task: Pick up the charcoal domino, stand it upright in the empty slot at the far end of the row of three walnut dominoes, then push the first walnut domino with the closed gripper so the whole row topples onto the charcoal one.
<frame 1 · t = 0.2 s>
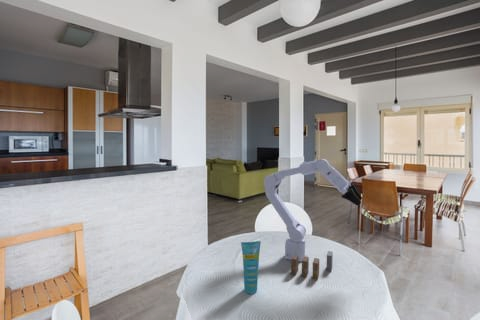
hand: (360, 201, 112), 31 cm above the table, tool tilted 45°, fingers open, 7 cm apart
domino 2: (305, 274, 109), on the table
domino 1: (294, 272, 111), on the table
tube: (251, 291, 97), on the table
domino 3: (315, 276, 107), on the table
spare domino: (329, 268, 114), on the table
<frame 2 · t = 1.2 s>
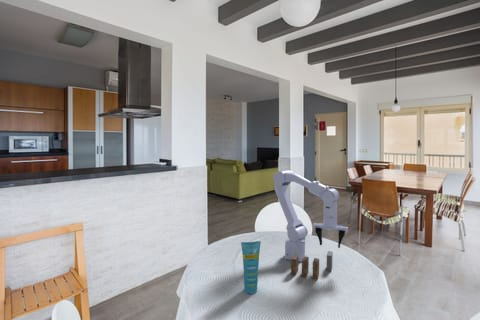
hand: (329, 245, 114), 10 cm above the table, tool pointing down, fingers open, 7 cm apart
nothing on the table moved.
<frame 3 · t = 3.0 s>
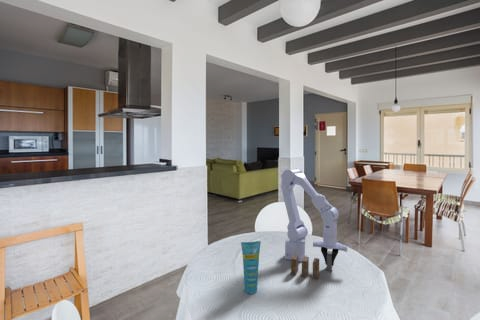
hand: (329, 264, 114), 2 cm above the table, tool pointing down, fingers closed on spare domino, 2 cm apart
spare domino: (329, 268, 114), on the table, touching gripper
everything else where it was.
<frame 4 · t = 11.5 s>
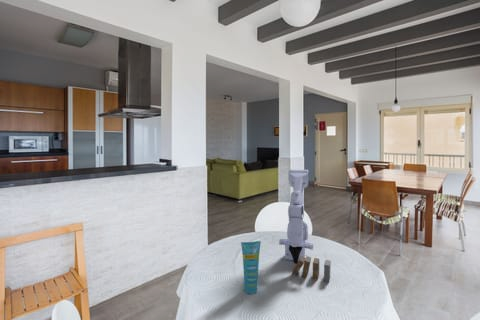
hand: (295, 262, 110), 4 cm above the table, tool pointing down, fingers closed
domino 2: (305, 274, 109), on the table, tilted 9°
domino 1: (295, 271, 111), on the table, tilted 29°
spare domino: (327, 279, 105), on the table
everything else where it was.
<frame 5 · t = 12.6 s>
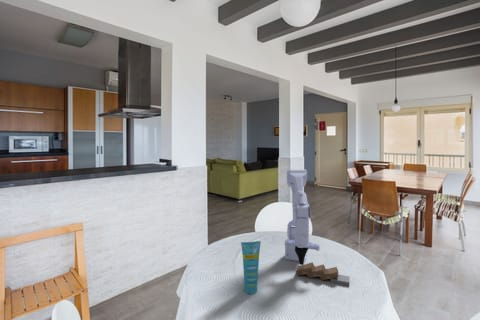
hand: (301, 263, 109), 4 cm above the table, tool pointing down, fingers closed
domino 2: (308, 273, 108), point 1 cm above the table, tilted 65°, touching domino 1, domino 3
domino 1: (297, 271, 110), point 1 cm above the table, tilted 64°, touching domino 2
domino 3: (320, 275, 106), point 1 cm above the table, tilted 69°, touching domino 2, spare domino
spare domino: (331, 278, 105), on the table, tilted 90°, touching domino 3
everything else where it was.
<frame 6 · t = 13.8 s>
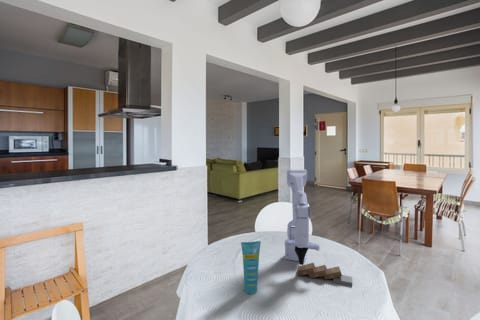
hand: (301, 263, 109), 4 cm above the table, tool pointing down, fingers closed
domino 2: (309, 273, 108), point 1 cm above the table, tilted 67°, touching domino 1
domino 3: (323, 274, 107), point 1 cm above the table, tilted 72°
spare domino: (333, 278, 105), on the table, tilted 90°
everything else where it was.
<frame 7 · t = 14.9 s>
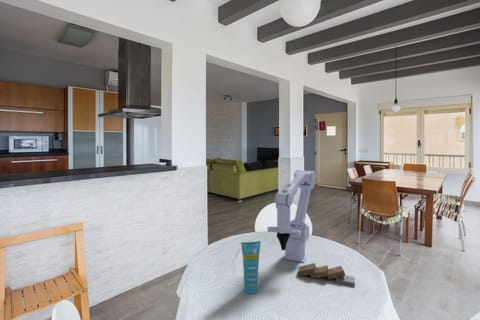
hand: (283, 249, 112), 9 cm above the table, tool pointing down, fingers closed
domino 2: (311, 273, 108), point 1 cm above the table, tilted 68°, touching domino 1, domino 3
domino 3: (326, 274, 106), point 1 cm above the table, tilted 71°, touching domino 2, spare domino
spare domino: (336, 278, 104), on the table, tilted 90°, touching domino 3
everything else where it was.
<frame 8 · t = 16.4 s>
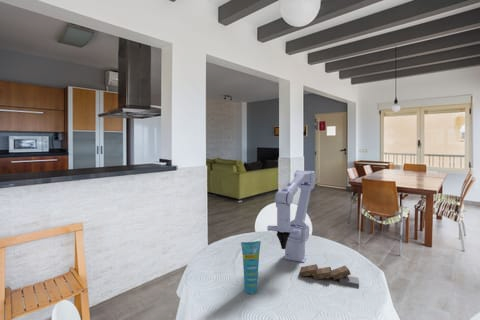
hand: (283, 248, 112), 10 cm above the table, tool pointing down, fingers closed
domino 2: (314, 274, 107), point 1 cm above the table, tilted 71°, touching domino 1
domino 3: (331, 275, 106), point 1 cm above the table, tilted 68°
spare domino: (339, 279, 104), on the table, tilted 90°
at the end: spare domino tilted 90°; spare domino inside the target area (2.5 cm from its centre), on the table; domino 3 tilted 68° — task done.
